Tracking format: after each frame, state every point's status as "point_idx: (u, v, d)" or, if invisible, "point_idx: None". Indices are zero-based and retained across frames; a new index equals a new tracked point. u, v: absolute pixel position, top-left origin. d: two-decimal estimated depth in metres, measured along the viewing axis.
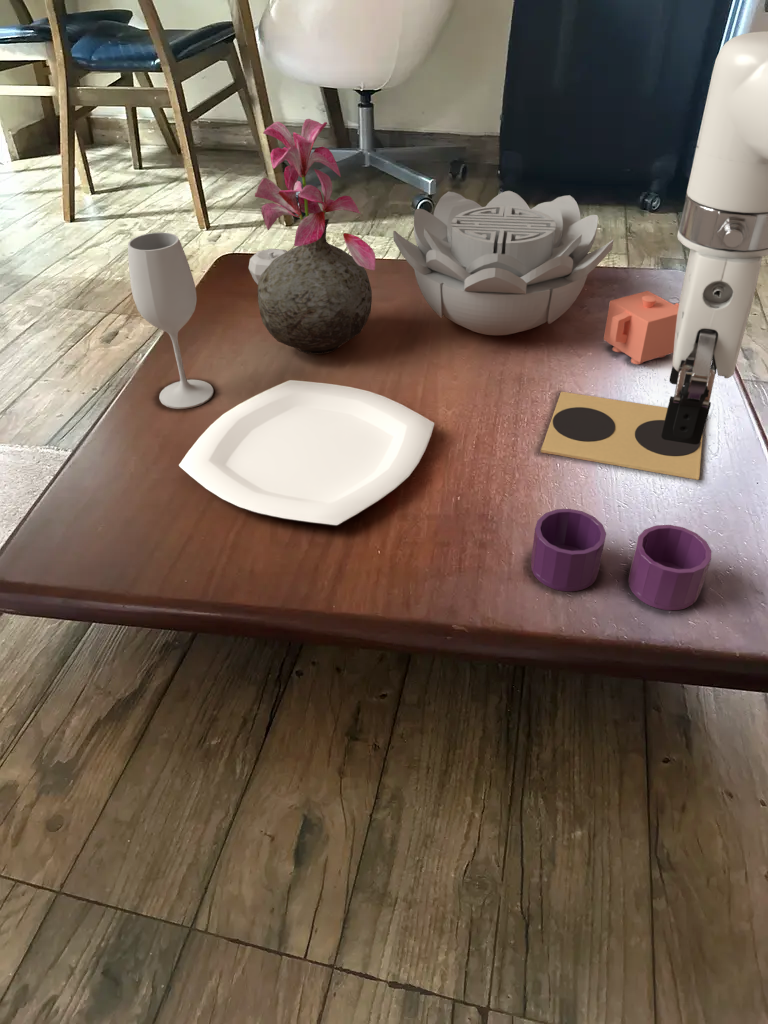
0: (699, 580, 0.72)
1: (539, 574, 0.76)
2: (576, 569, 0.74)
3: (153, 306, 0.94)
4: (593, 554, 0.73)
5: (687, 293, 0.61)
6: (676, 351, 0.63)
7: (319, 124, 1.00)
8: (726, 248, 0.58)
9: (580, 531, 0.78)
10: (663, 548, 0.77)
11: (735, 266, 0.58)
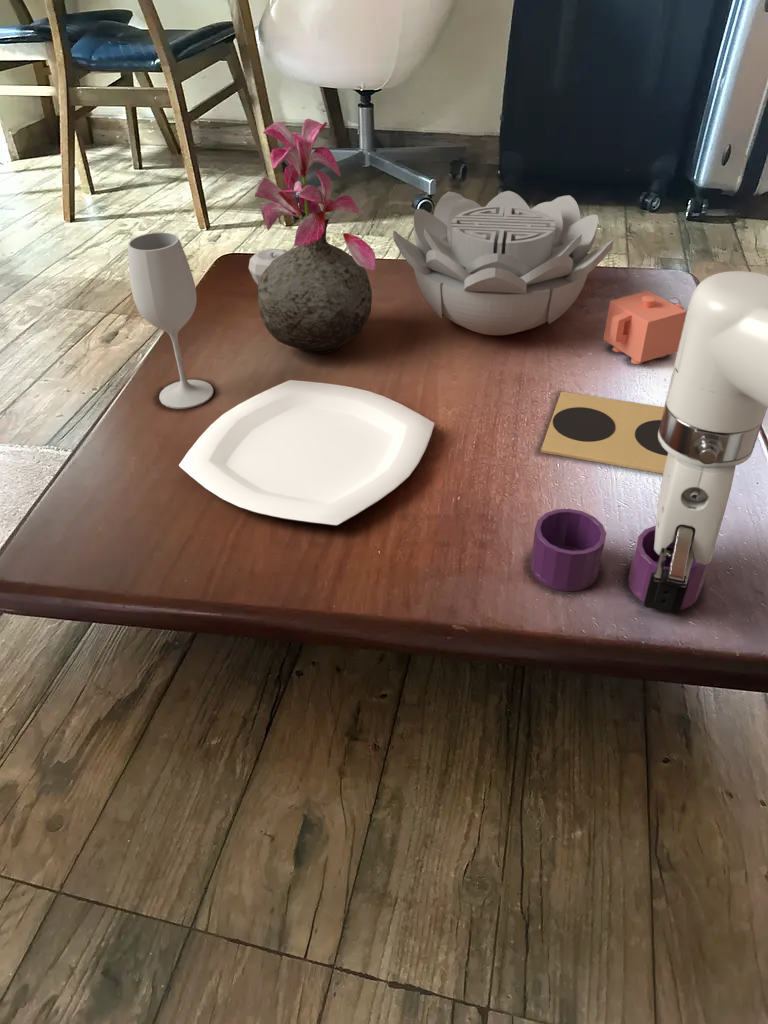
0: (699, 580, 0.72)
1: (539, 574, 0.76)
2: (576, 569, 0.74)
3: (153, 306, 0.94)
4: (593, 554, 0.73)
5: (666, 492, 0.65)
6: (657, 539, 0.67)
7: (319, 124, 1.00)
8: None
9: (580, 531, 0.78)
10: None
11: (711, 477, 0.62)
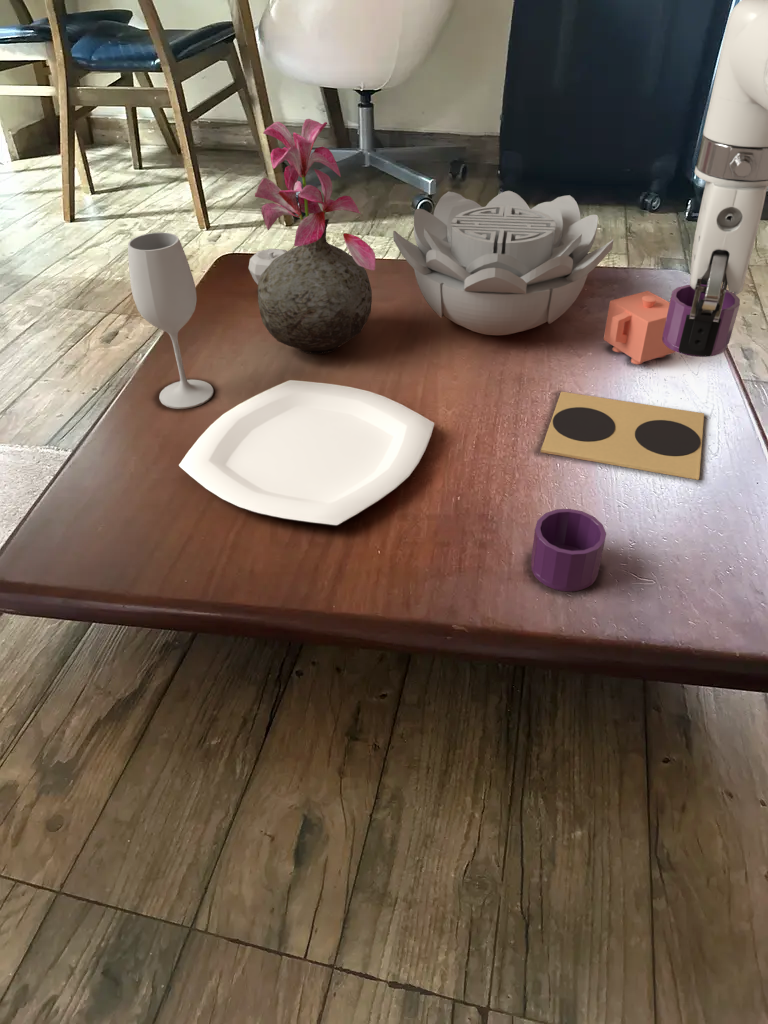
0: (729, 323, 0.78)
1: (539, 574, 0.76)
2: (576, 569, 0.74)
3: (153, 306, 0.94)
4: (593, 554, 0.73)
5: (703, 219, 0.72)
6: (693, 271, 0.74)
7: (319, 124, 1.00)
8: (737, 179, 0.69)
9: (580, 531, 0.78)
10: None
11: (744, 194, 0.69)
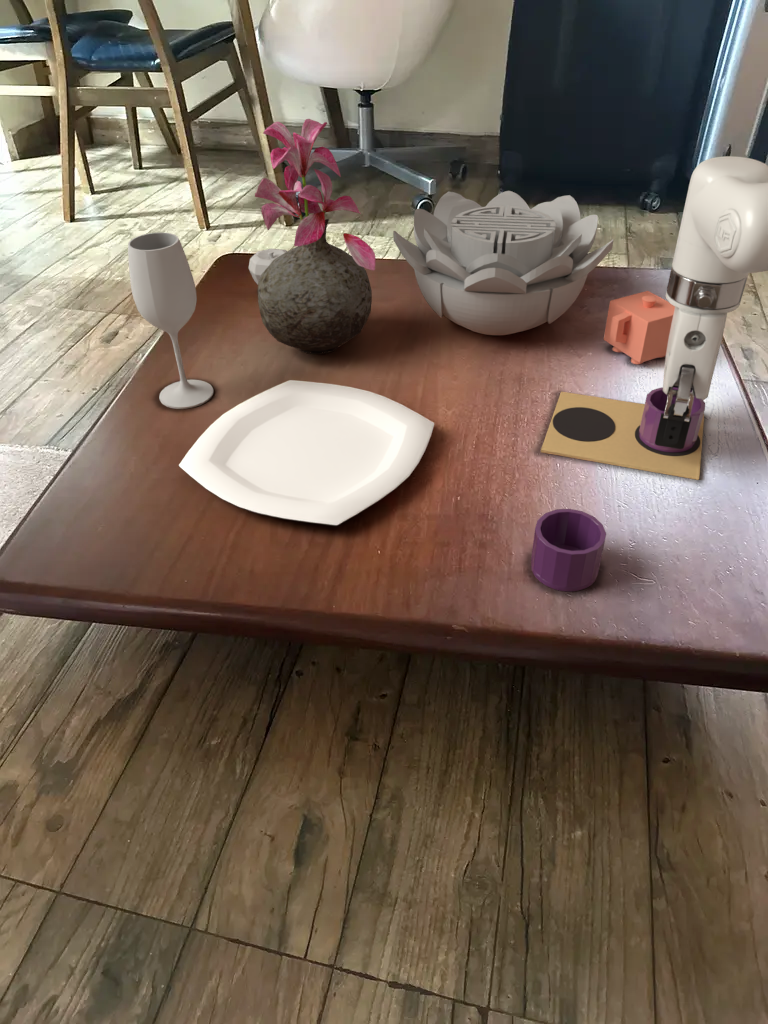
0: (696, 425, 0.90)
1: (539, 574, 0.76)
2: (576, 569, 0.74)
3: (153, 306, 0.94)
4: (593, 554, 0.73)
5: (673, 338, 0.83)
6: (665, 380, 0.85)
7: (319, 124, 1.00)
8: (700, 307, 0.80)
9: (580, 531, 0.78)
10: None
11: (707, 320, 0.80)
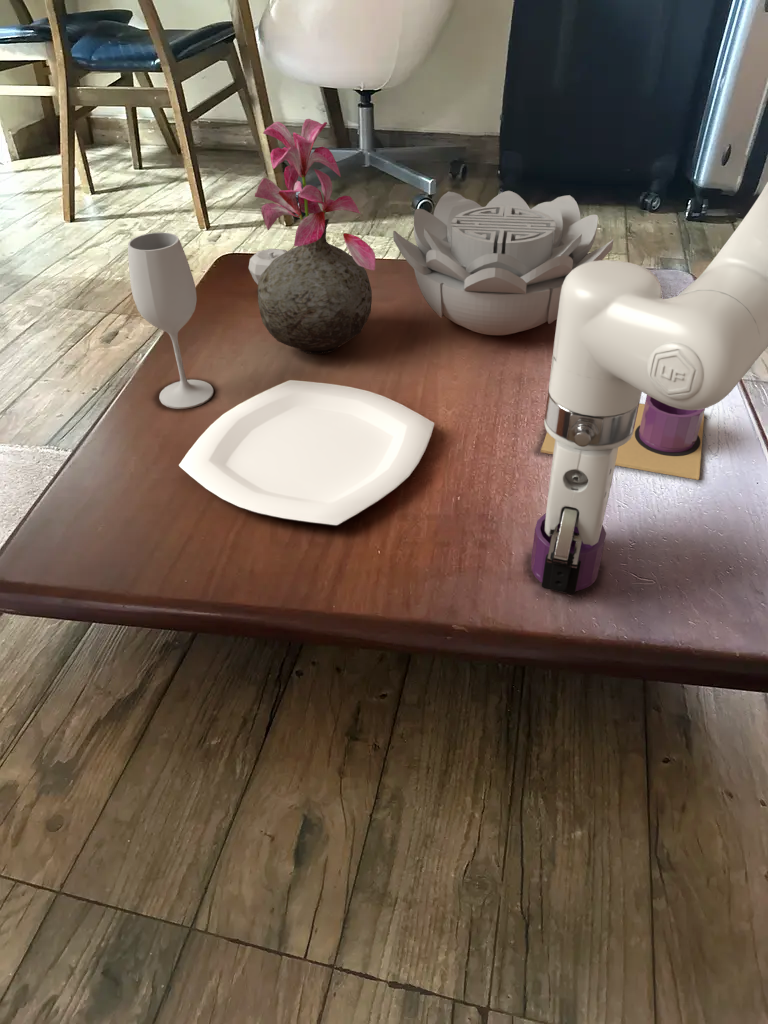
0: (696, 425, 0.90)
1: (539, 574, 0.76)
2: None
3: (153, 306, 0.94)
4: (593, 554, 0.73)
5: (551, 474, 0.67)
6: (546, 521, 0.69)
7: (319, 124, 1.00)
8: None
9: None
10: (667, 407, 0.95)
11: (588, 459, 0.64)
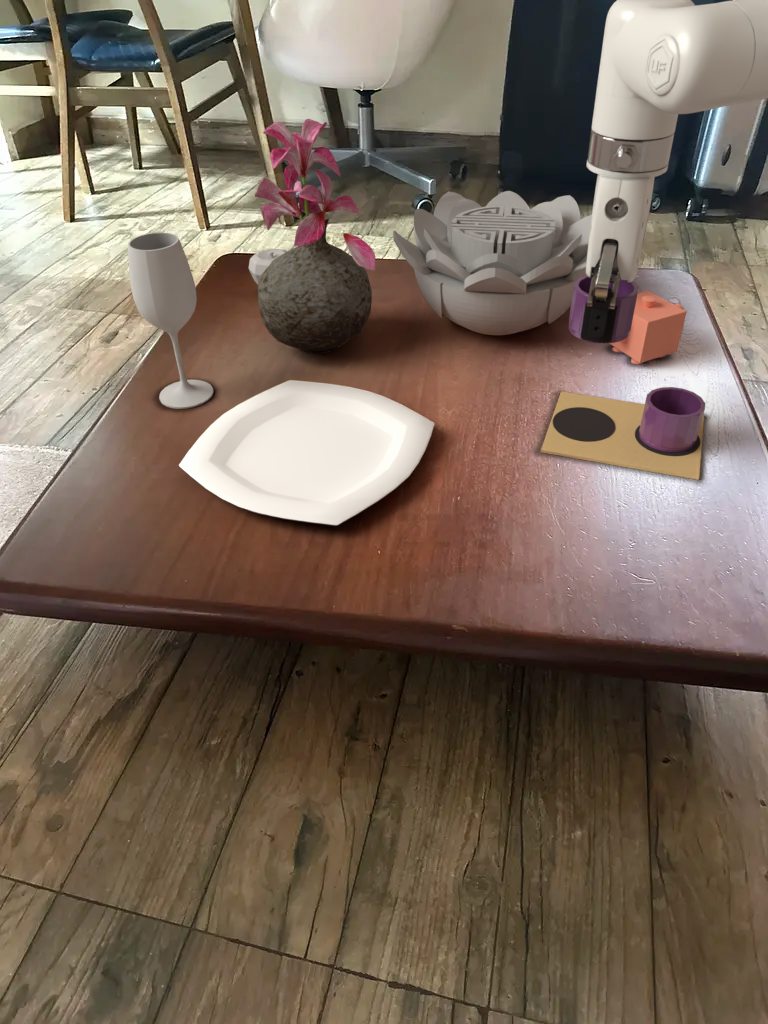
0: (696, 425, 0.90)
1: (577, 330, 0.84)
2: None
3: (153, 306, 0.94)
4: (627, 301, 0.81)
5: (593, 210, 0.75)
6: (587, 260, 0.77)
7: (319, 124, 1.00)
8: (621, 170, 0.72)
9: None
10: (667, 407, 0.95)
11: (628, 185, 0.72)
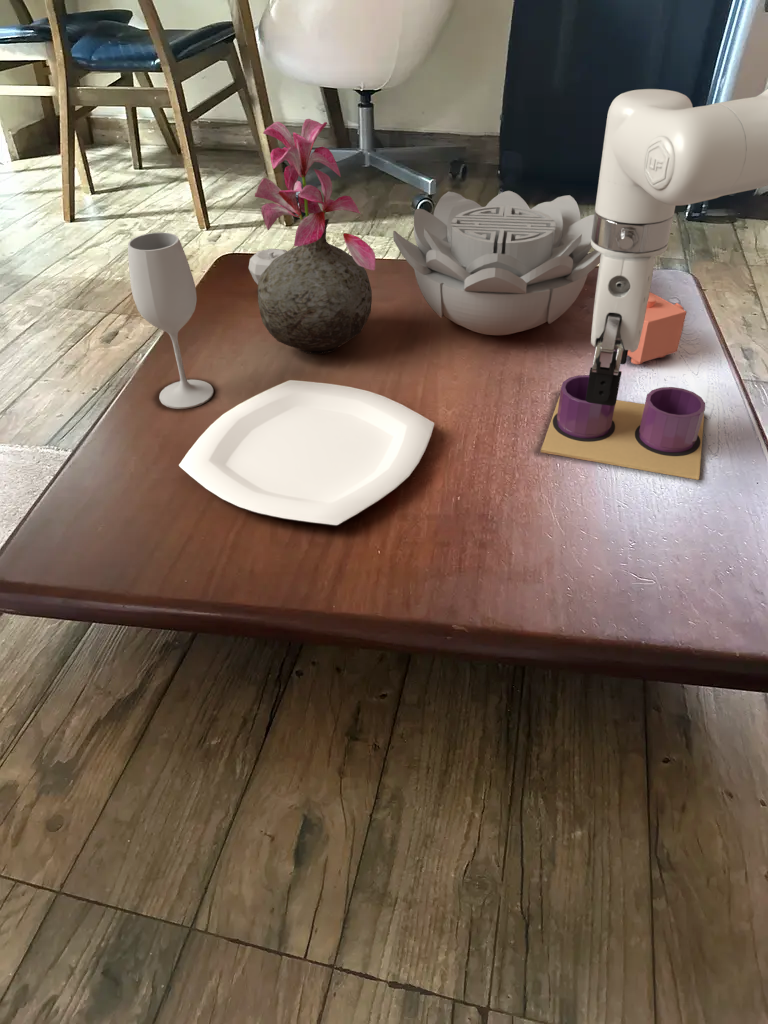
0: (696, 425, 0.90)
1: (563, 425, 0.95)
2: (593, 417, 0.93)
3: (153, 306, 0.94)
4: None
5: (597, 285, 0.79)
6: (592, 331, 0.81)
7: (319, 124, 1.00)
8: (623, 250, 0.76)
9: None
10: (667, 407, 0.95)
11: (630, 264, 0.76)
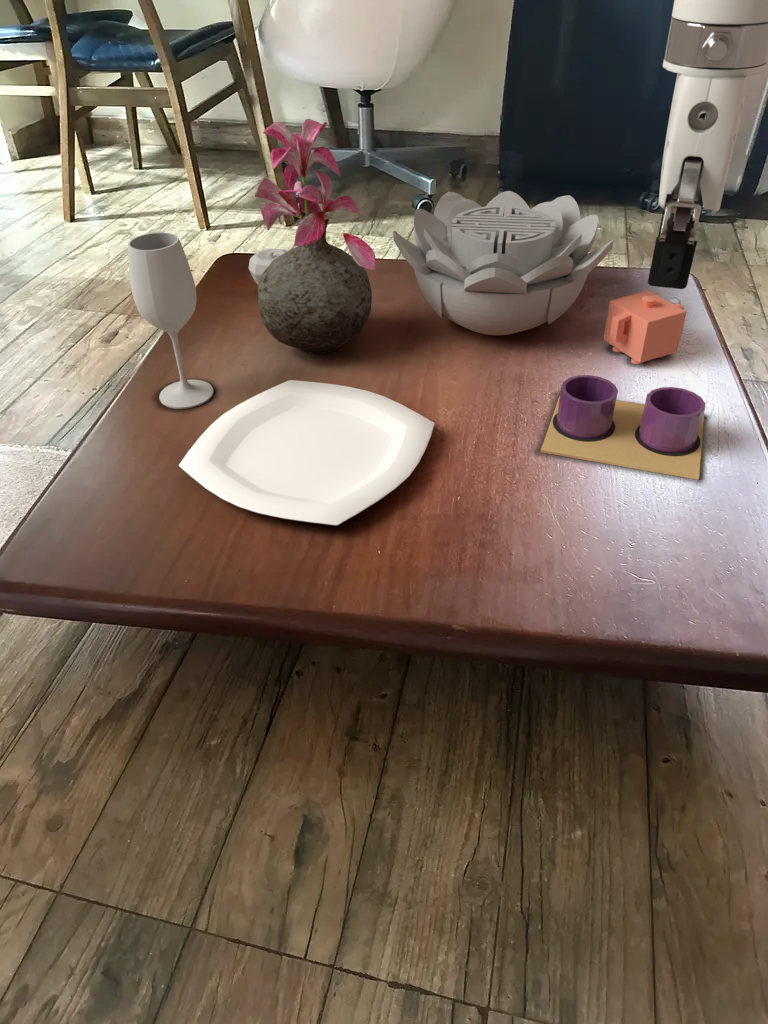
0: (696, 425, 0.90)
1: (563, 425, 0.95)
2: (593, 417, 0.93)
3: (153, 306, 0.94)
4: (607, 404, 0.92)
5: (672, 120, 0.60)
6: (662, 185, 0.62)
7: (319, 124, 1.00)
8: (711, 66, 0.57)
9: (597, 394, 0.97)
10: (667, 407, 0.95)
11: (720, 84, 0.57)
